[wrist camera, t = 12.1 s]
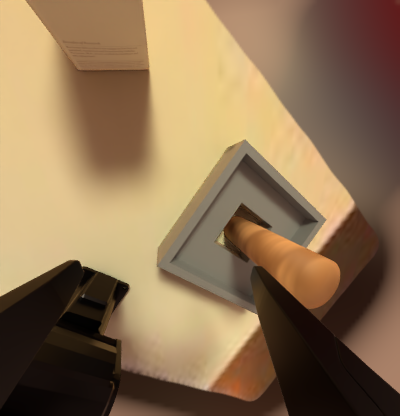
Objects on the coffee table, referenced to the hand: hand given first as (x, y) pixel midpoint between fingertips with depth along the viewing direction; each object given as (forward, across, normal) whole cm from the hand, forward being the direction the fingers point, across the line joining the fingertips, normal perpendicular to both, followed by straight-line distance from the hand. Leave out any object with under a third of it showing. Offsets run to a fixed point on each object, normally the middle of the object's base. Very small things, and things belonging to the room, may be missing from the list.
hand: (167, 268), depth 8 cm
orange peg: (+14, -8, +7) cm, 17 cm away
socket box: (+14, -8, +7) cm, 17 cm away
